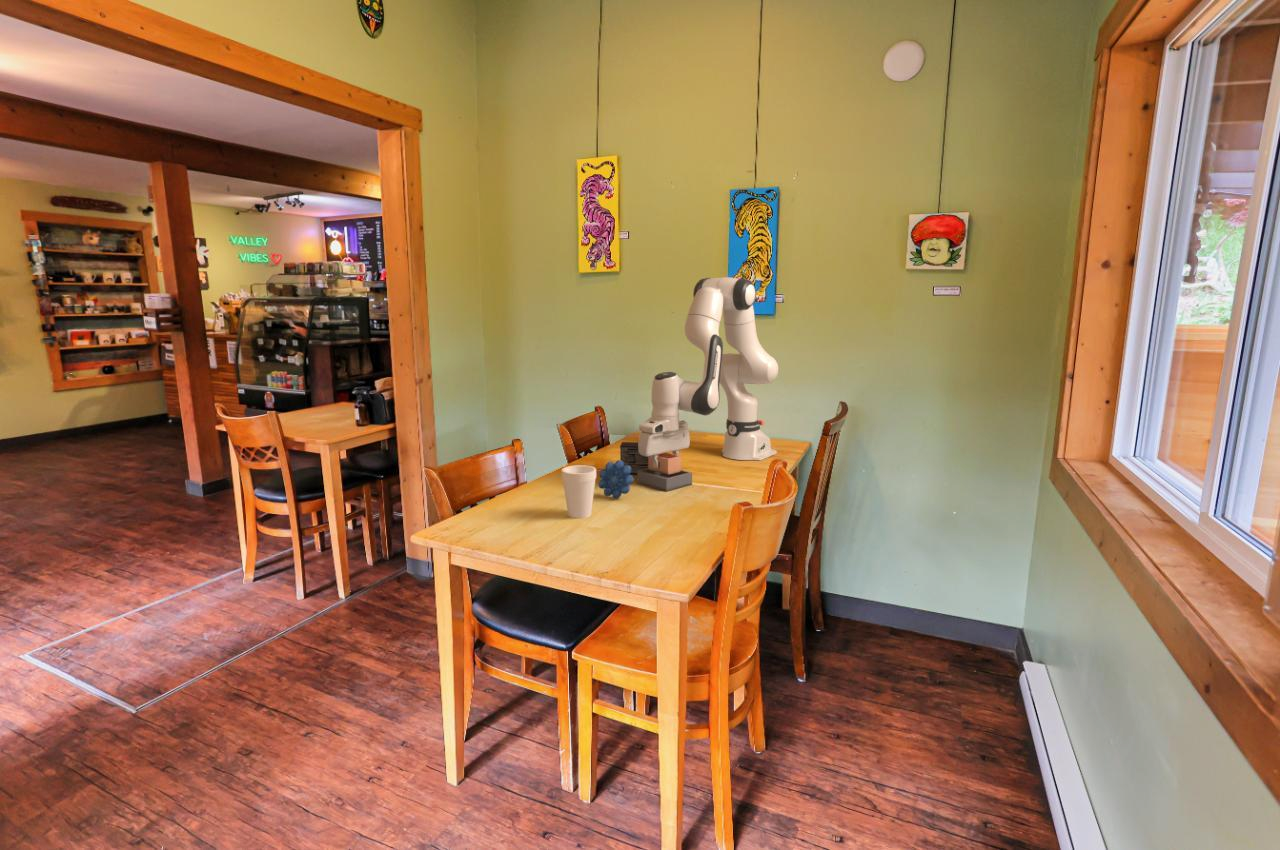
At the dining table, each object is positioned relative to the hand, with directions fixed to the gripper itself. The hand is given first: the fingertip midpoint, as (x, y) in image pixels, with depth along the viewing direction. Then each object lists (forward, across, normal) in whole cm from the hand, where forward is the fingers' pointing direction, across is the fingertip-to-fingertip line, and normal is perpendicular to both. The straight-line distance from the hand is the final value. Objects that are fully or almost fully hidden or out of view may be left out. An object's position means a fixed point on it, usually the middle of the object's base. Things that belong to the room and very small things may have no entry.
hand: (664, 465), depth 207 cm
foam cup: (+6, +39, +6) cm, 40 cm away
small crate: (+2, 0, 0) cm, 2 cm away
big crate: (+6, 0, 0) cm, 6 cm away
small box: (+6, -2, -16) cm, 17 cm away
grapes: (+6, +21, +1) cm, 22 cm away
